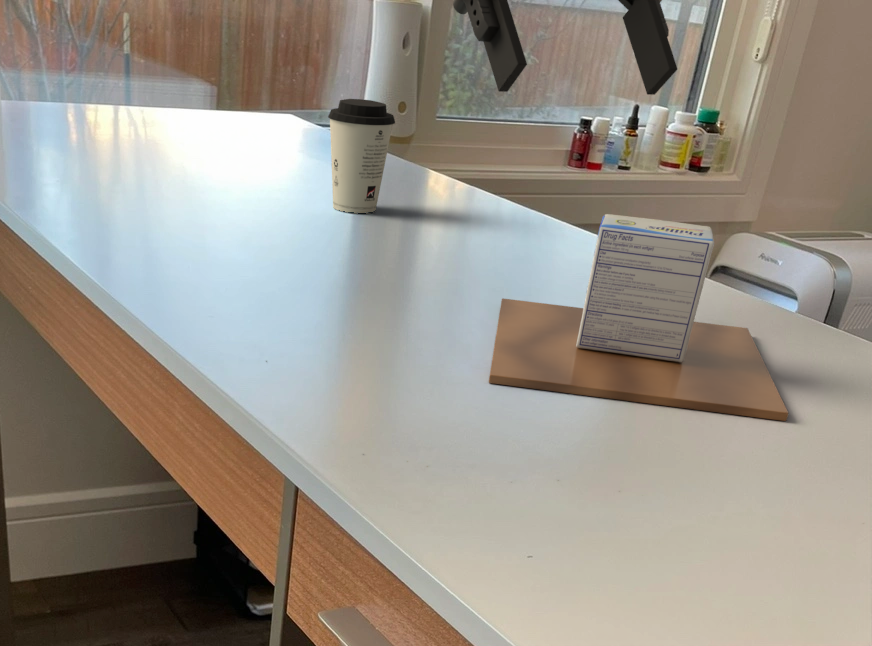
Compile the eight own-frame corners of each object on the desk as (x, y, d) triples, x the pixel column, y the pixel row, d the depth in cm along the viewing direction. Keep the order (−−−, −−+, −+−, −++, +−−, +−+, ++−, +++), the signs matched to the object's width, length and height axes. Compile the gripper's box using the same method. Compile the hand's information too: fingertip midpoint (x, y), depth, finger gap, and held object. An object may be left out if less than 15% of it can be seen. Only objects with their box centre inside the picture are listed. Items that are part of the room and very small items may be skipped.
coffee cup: (391, 218, 117) (401, 110, 111) (324, 214, 116) (332, 105, 110) (382, 203, 122) (392, 100, 116) (319, 199, 121) (325, 95, 116)
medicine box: (682, 348, 84) (714, 226, 79) (683, 365, 81) (716, 239, 76) (578, 332, 86) (602, 211, 80) (574, 349, 82) (599, 223, 77)
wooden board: (745, 335, 91) (747, 327, 90) (786, 421, 74) (788, 412, 74) (500, 305, 92) (501, 298, 92) (488, 383, 76) (489, 374, 76)
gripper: (611, -119, 91) (687, 116, 90) (341, -151, 81) (420, 113, 80) (669, -206, 85) (753, 47, 83) (382, -251, 75) (470, 35, 73)
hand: (590, 80), depth 81 cm, fingers open, 13 cm apart
